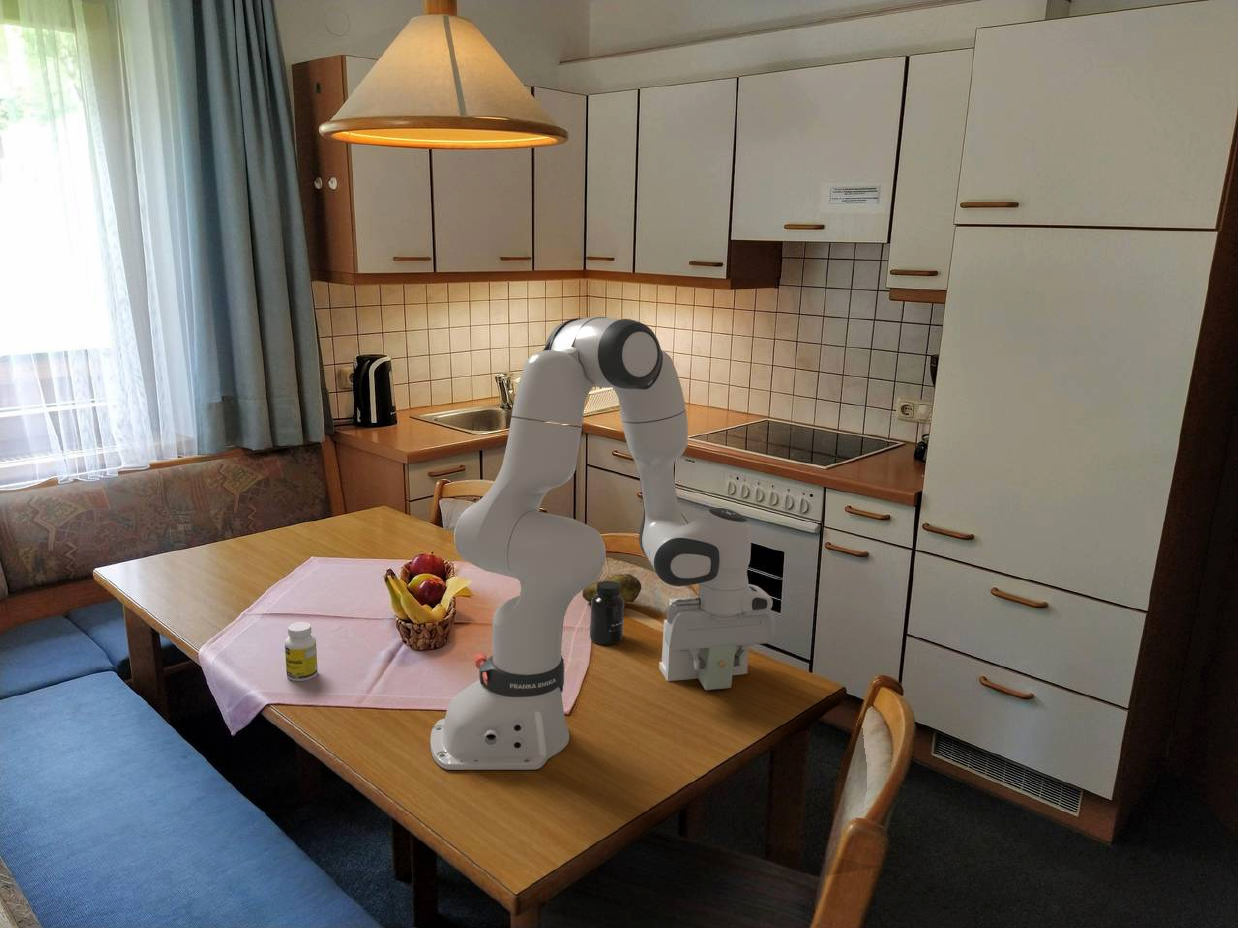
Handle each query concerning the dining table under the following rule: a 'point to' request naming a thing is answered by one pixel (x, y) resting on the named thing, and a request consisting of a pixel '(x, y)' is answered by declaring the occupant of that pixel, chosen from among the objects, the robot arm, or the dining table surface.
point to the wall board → (687, 660)
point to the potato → (628, 588)
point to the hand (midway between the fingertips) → (717, 666)
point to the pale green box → (717, 666)
